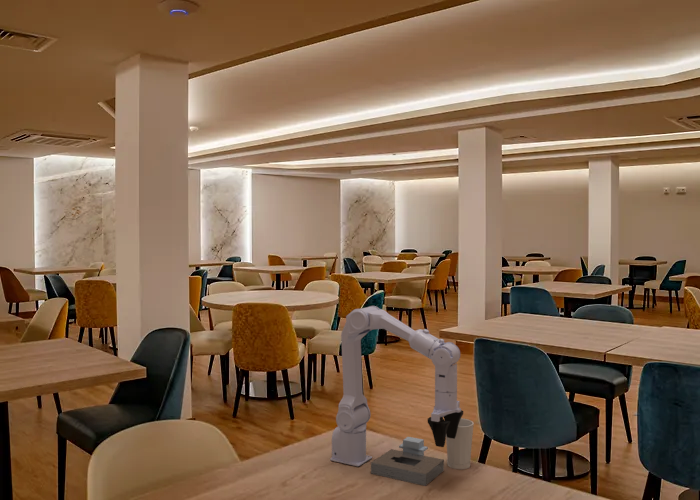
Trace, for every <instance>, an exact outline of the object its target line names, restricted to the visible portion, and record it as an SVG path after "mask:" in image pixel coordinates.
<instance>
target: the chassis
mask: <svg viewBox="0 0 700 500" xmlns="http://www.w3.org/2000/svg"><path fill="white" fill-rule="evenodd" d="M444 471H445V460H444V459H442V458H437V457H432V456H427V455H424V456H423V455H418V454H413V453H408V452H403V450H398V449H392V448H391V449H390V450H388V451H386V452H384V453H383V454H381V455H380V456H378V457H377V458H376V459H374V460H372V461H371V462H370V474H372V475H376V476H382V477H384V478H388V479H389V478H390V479H393V480H398V481H402V482H408V483H411V484H415V485H420V486H427V485H429V484H430V483H431V482H432V481H433V480H435V479H436V477H438V476H440V474H441V473H443V472H444Z"/></svg>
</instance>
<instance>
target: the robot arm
mask: <svg viewBox="0 0 700 500" xmlns="http://www.w3.org/2000/svg"><path fill="white" fill-rule="evenodd" d="M343 326H344V327H342V330H341V336H340V337H341V338H340V339H341V360H342V361H341V362H342V365H341V366H342V367H341V368H342V386H343V387H342V390H343V392H342V393H343V395H342V398H341V400H340V401H339V403H338V406H337V407H338V411H337V413H336V416H335V423H336V425H337V426H336V427H335V428H334V430H333V431H332V435H331V457H330V458H329V461H332V462H336V463H341V464H345V465H350V466H353V467H360V466H362V465H364V464H365V463H367V462H368V461H370V460H371V459H372V458H373V456H372V455H368V454H367V423H368V422H369V421H370V420H371V410H370V408H369V405H368V398H367V397H366V396H365V394H363V391H364V390H363V370H362V369H363V367H362V366H363V365H362V339H363V338H364V337H365V336H367V334H368V333H369V332H371V331H372V330H381V329H382V330H385V331H388V332H389V333H391V334H394V335H395V336H398V337H399V338H402V339H404V340H406V341H407V342H408V344H409V346H410V348H411V349H412V350H414V351H416V352H418V353H419V354H421V355H422V356H424V357H426V358H427V359H429V360H431V362H432V364H433V366H434V406H433V409H432V412H431V414H430V417H428V418H427V424H428V425H429V428H430V430H431V432H432V436H433V440H434V445H435V446H436V447H439V448H444V447H445V445H446V435H447V438H453V439H455V437H456V433H457V429H458V425H459V422H460V419H461V418H463V415H464V410H462V408H461V407H460V404H461V403H460V402H461V401H460V400H458V363H457V362H459V361H460V358H461V350H460V348H459V347H458V345H456V344H455V343H454V342H452V341H447V342H445V339H443V338H438V337H437V336H434V335H432V334H431V333H430V330H428V329H427V328H425V329H422V328H420V329H416V330H414V329H413V328H411V327H410V326H408V324H406V323H404V322H402V321H401V320H399V319H397V318H396V317H394V316H392V315H391V314H389V312H387V311H386V310H385V309H381V308H379V307H378V306H377V305H376V306H375V305H369V306H367V307H362V308H355V309H353V310H351V312H350V313H348V314H347V315H346V316H345V324H344V325H343Z"/></svg>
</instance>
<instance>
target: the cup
mask: <svg viewBox="0 0 700 500" xmlns="http://www.w3.org/2000/svg"><path fill="white" fill-rule="evenodd" d="M474 424H475V423H474V421H472V420H470V419H467V418H463V417H461V419H460V422H459V425H458V429H457V433H456V437H455V439H453V438H447V435H446V440H445V445H446V456H447V459H446V462H447V464H446V465H447V467H449V468H450V469H454V470H466V469H469V468H471V459H472V458H471V457H472V447H473V434H474V433H473V432H474Z"/></svg>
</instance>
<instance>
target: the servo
mask: <svg viewBox="0 0 700 500" xmlns="http://www.w3.org/2000/svg"><path fill="white" fill-rule="evenodd" d="M398 448H399V449H402V451H403V452H408V453H413V454H418V455H423V456H425V451H427V450H428V449H429V448H428V446H425V439H422V438H417V437H412V436H406V437H405V438H403V439H402V443H401V444H399V445H398Z"/></svg>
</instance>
